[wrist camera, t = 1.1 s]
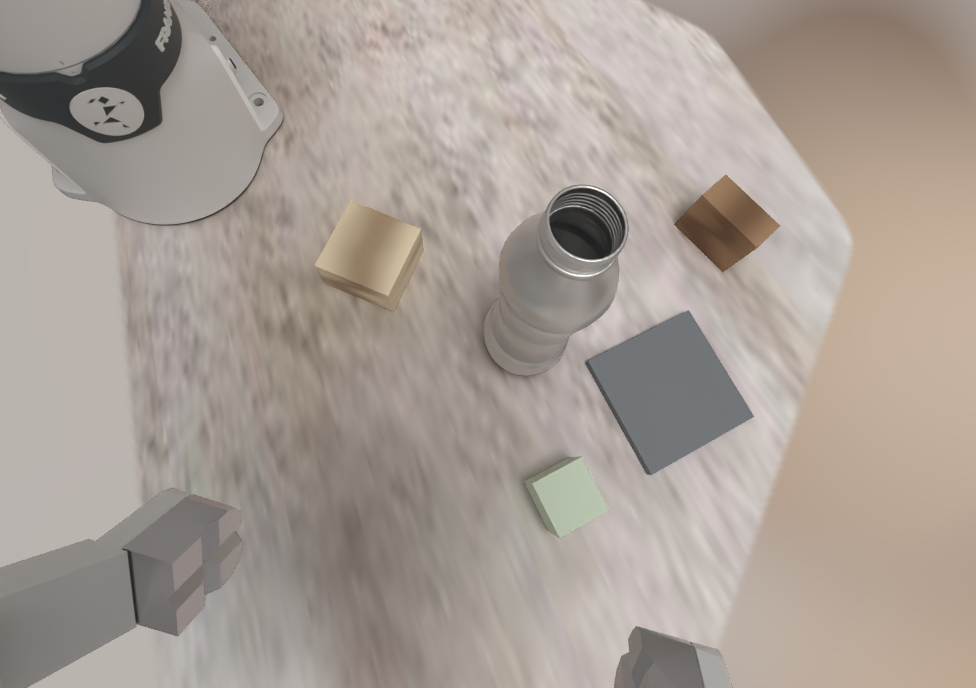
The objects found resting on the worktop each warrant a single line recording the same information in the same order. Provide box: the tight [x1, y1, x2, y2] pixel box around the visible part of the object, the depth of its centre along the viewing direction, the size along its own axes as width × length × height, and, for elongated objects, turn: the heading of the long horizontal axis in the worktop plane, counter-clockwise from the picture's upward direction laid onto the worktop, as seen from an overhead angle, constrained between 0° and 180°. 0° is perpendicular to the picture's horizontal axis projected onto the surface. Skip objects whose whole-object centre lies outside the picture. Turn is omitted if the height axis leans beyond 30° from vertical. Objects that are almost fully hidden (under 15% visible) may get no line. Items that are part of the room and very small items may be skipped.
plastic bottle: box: [484, 185, 629, 376], centre depth 30 cm, size 6×7×20 cm
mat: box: [586, 310, 754, 475], centre depth 39 cm, size 10×10×1 cm
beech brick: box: [315, 200, 424, 312], centre depth 38 cm, size 6×6×4 cm
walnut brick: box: [675, 175, 780, 272], centre depth 41 cm, size 6×3×5 cm, turn 42°
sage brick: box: [524, 457, 610, 538], centre depth 35 cm, size 4×4×4 cm
